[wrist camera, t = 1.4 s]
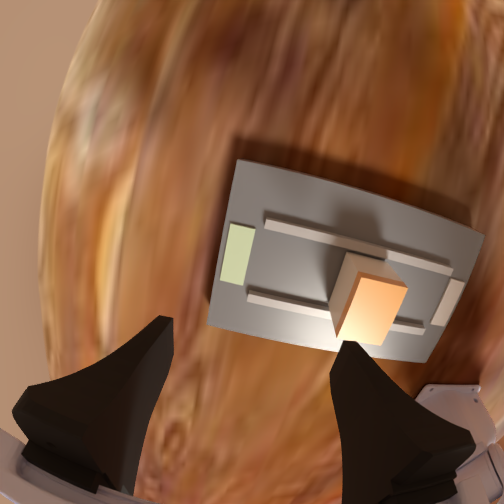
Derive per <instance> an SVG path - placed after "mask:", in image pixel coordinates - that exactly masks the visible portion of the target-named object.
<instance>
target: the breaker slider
mask: <svg viewBox="0 0 504 504" xmlns="http://www.w3.org/2000/svg"><path fill="white" fill-rule="evenodd" d="M407 290H408V287H407V286H406V285H405V283H404V282H403V281H402V280H401V279H400V277H399V276H398V275H397V274H396V272H395V271H394V270H393V269H392V267H391V266H390V265H389V264H388V263H387V262H386V261H382V260H378V259H374V258H371V257H367V256H363V255H359V254H355V253H351V252H346V255H345V258H344V261H343V264H342V267H341V270H340V272H339V275H338V278H337V281H336V284H335V287H334V290H333V292H332V295H331V298H330V301H329V303H328V306H329V310H330V314H331V318H332V322H333V326H334V330H335V334H336V338H337V339H342V340H348V341H357V342H360V343H367V344H373V345H380V346H381V345H382V343H383V341H384V339H385V337H386V335H387V333H388V331H389V329H390V327H391V325H392V323H393V321H394V319H395V317H396V314H397V312H398V310H399V308H400V306H401V304H402V301H403V299H404V297H405V294H406V292H407Z"/></svg>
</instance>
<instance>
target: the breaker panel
mask: <svg viewBox="0 0 504 504" xmlns="http://www.w3.org/2000/svg"><path fill="white" fill-rule="evenodd" d="M484 238H485V235H484V234H482V233H480V232H479V231H477V230H475V229H473V228H471V227H468V226H466V225H464V224H461V223H459V222H456V221H454V220H451V219H448V218H446V217H443V216H441V215H438V214H435V213H433V212H430V211H427V210H424V209H422V208H419V207H416V206H413V205H410V204H407V203H405V202H402V201H399V200H396V199H393V198H390V197H387V196H383V195H380V194H377V193H374V192H371V191H368V190H364V189H361V188H358V187H354V186H351V185H348V184H344V183H341V182H337V181H333V180H330V179H326V178H323V177H319V176H315V175H311V174H307V173H303V172H299V171H295V170H291V169H287V168H283V167H279V166H274V165H270V164H266V163H261V162H257V161H252V160H247V159H242V158H241V159H237V164H236V168H235V173H234V178H233V183H232V188H231V193H230V198H229V203H228V208H227V213H226V218H225V223H224V229H223V234H222V239H221V245H220V250H219V255H218V261H217V267H216V272H215V278H214V283H213V289H212V295H211V301H210V307H209V313H208V319H207V325H210V326H214V327H218V328H222V329H226V330H231V331H235V332H239V333H243V334H248V335H252V336H257V337H261V338H266V339H271V340H275V341H280V342H285V343H290V344H296V345H301V346H306V347H312V348H317V349H323V350H329V351H335V352H339V350H340V347H341V345H342V342H343V340H342V339H337V338H336V334H335V330H334V326H333V322H332V318H331V314H330V310H329V306H328V303H329V301H330V298H331V295H332V292H333V290H334V287H335V284H336V281H337V278H338V275H339V272H340V270H341V267H342V264H343V261H344V258H345V255H346V252H351V253H355V254H359V255H363V256H367V257H371V258H374V259H378V260H382V261H386V262H387V263H388V264H389V265H390V266H391V267H392V269H393V270H394V271H395V272H396V274H397V275H398V276H399V277H400V279H401V280H402V281H403V282H404V283H405V285H406V286H407V287H408V290H407V292H406V294H405V297H404V299H403V301H402V304H401V306H400V308H399V310H398V312H397V314H396V317H395V319H394V321H393V323H392V325H391V327H390V329H389V331H388V333H387V335H386V337H385V339H384V341H383V343H382V345H381V346H380V345H373V344H367V343H360V342H358V343H359V344H360V346H361V347H362V348H363V349H364V350H365V351H366V352H367V353H368V355H369V356H370V357H375V358H383V359H391V360H400V361H409V362H419V363H426V361H427V360H428V358H429V356H430V355H431V353H432V351H433V349H434V348H435V346H436V344H437V342H438V341H439V339H440V337H441V335H442V333H443V332H444V330H445V328H446V326H447V324H448V322H449V320H450V318H451V316H452V314H453V312H454V310H455V308H456V306H457V304H458V302H459V300H460V298H461V295H462V293H463V291H464V289H465V287H466V284H467V282H468V280H469V277H470V275H471V272H472V270H473V268H474V265H475V262H476V260H477V257H478V255H479V252H480V249H481V246H482V244H483V241H484Z"/></svg>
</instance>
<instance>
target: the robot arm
mask: <svg viewBox="0 0 504 504" xmlns="http://www.w3.org/2000/svg"><path fill="white" fill-rule="evenodd" d="M173 355H174V344H173V318H171V317H166V316H161V315H159V316H158V317H156V318H155V319H154V320H153V321H152V322H151V323H149V324H148V325H147V326H146V327H145V328H144V329H143V330H141V331H140V332H139V333H138V334H137V335H135V336H134V337H133V338H132V339H130V340H129V341H128V342H127V343H125V344H124V345H122V346H121V347H120V348H118V349H117V350H116V351H114V352H113V353H111V354H110V355H108V356H107V357H105V358H103V359H102V360H100V361H98V362H96V363H95V364H93V365H91V366H89V367H86V368H84V369H82V370H80V371H78V372H76V373H73V374H71V375H68V376H65V377H62V378H59V379H56V380H53V381H49V382H45V383H41V384H37V385H32V386H28V388H27V389H26V390H25V391H24V393H23V395H22V396H21V397H20V399H19V400H18V402H17V403H16V405H15V406H14V408H13V410H12V414H13V417H14V419H15V421H16V423H17V424H18V426H19V427H20V428H21V430H22V431H23V433H24V434H25V435H26V437H27V438H28V439H29V441H28V443H27V444H26V445H25V444H24V443H22V442H21V441H20V440H18V439H17V438H15V437H13V436H12V435H10V434H9V433H7V432H6V431H4V430H3V429H1V428H0V493H1V494H2V495H3V496H5V497H6V498H7V499H9V500H10V501H12V502H13V503H15V504H159V503H155V502H151V501H148V500H144V499H140V498H137V497H134V496H133V494H134V487H135V481H136V475H137V470H138V465H139V460H140V456H141V451H142V447H143V443H144V439H145V435H146V431H147V427H148V424H149V420H150V417H151V414H152V412H153V409H154V407H155V405H156V402H157V400H158V397H159V395H160V392H161V390H162V388H163V385H164V383H165V380H166V378H167V376H168V373H169V369H170V366H171V362H172V358H173ZM330 387H331V395H332V400H333V405H334V409H335V414H336V418H337V423H338V428H339V432H340V438H341V448H342V467H343V488H342V504H490V503H492V502H493V501H495V500H496V499H498V498H499V497H500V496H502V497H501V498H500V500H499V502H498V503H497V504H504V452H503V450H502V448H501V446H500V445H499V444H495V440H496V428H495V424H494V422H493V420H492V418H491V417H490V415H489V413H488V411H487V409H486V408H485V406H484V404H483V402H482V401H481V399H480V397H479V395H478V394H477V393H478V391H479V390H480V388H481V387H480V385H437V384H428V385H426V386H425V387H424V388H423V389H422V391H421V392H420V393H419V395H418V396H417V398H416V399H415V400H414V399H413V398H411V397H410V396H409V395H408V394H407V393H405V392H404V391H403V390H402V389H401V388H400V387H399V386H398V385H397V384H396V383H395V382H394V381H393V380H391V379H390V377H389V376H388V375H387V374H386V373H385V372H384V371H383V370H382V369H381V368H380V367H379V366H378V365H377V364H376V362H375V361H374V360H373V359H372V358H371V357H370V356H369V355H368V353H367V352H366V351H365V350H364V349H363V348H362V347H361V346H360V344H359V343H358V342H357V341H348V340H343V342H342V345H341V347H340V350H339V352H338V354H337V357H336V359H335V362H334V364H333V366H332V369H331V371H330Z"/></svg>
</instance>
